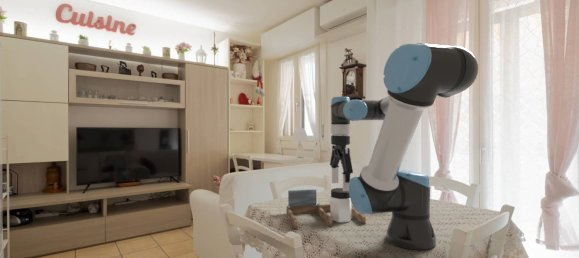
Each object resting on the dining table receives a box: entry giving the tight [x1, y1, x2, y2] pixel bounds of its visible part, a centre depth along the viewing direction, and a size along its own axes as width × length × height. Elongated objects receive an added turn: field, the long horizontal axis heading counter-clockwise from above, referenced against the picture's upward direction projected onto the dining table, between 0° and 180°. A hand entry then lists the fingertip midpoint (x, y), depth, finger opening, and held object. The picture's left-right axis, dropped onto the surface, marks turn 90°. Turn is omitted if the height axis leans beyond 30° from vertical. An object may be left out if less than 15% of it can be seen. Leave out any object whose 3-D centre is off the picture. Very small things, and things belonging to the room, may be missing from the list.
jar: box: [329, 187, 353, 223], centre depth 119 cm, size 9×8×12 cm
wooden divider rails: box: [286, 188, 367, 230], centre depth 120 cm, size 20×28×10 cm
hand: (340, 186), depth 119 cm, fingers open, 13 cm apart
